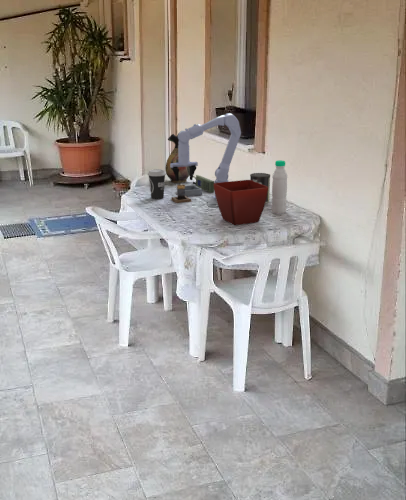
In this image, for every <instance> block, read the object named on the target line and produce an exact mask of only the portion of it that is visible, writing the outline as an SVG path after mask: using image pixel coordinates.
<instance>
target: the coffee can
mask: <svg viewBox="0 0 406 500" xmlns="http://www.w3.org/2000/svg"><path fill="white" fill-rule="evenodd" d="M249 176H250V179H249V180H252V181H255V182H257V183H260V184H262V185H265V186H267V187H269V188H268V193H267V198H266V202H265V204H268V203H270V193H271V192H270V190H271V189H270V186H271V174H270V173H265V172H253V173H250V174H249Z"/></svg>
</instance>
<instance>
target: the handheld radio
mask: <svg viewBox="0 0 406 500" xmlns="http://www.w3.org/2000/svg"><path fill="white" fill-rule="evenodd" d="M214 183H215V180H211V179H209V178H206V177H204V176H201V175H199V174H195V181H192V185H195V186H197V187H199V188H201V189H202V191H205V192H207V193H210V194H212V193H213V194H215V190H214Z"/></svg>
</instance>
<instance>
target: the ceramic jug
mask: <svg viewBox="0 0 406 500" xmlns="http://www.w3.org/2000/svg"><path fill="white" fill-rule="evenodd" d="M178 134H179V132H178V133H177V135H175V134H174V133H172V134H170V135H169V136H168V138H167V140H168V141H169V142H172V143H174V147H173V149H172V150H171V152H170V154H169V156H168V158H167V160H166V163H165V168H164V169H165V170H164V171H165V173H166V176H167V177H168V178H169V180H170V183H172V184H183V183H186V182H188V178H190V170H189V166H186V167H178V169H179V181H176V178H175V174H174V172H173V170H172V168H171V167H170V164H171V163H178V162H179V158H178V145H179V144H178V142H179V139H178ZM181 166H184V165H181ZM192 182H195V181H194V180H193V179H192Z"/></svg>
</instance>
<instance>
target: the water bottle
mask: <svg viewBox="0 0 406 500" xmlns="http://www.w3.org/2000/svg"><path fill="white" fill-rule="evenodd" d="M274 165H275V169H274V171H273V174H272V183H271V184H272V185H271V188H272V189H271V197H272V198H271V213H273V214H277V215H282V214H285V213H286V212H287V192H288V174H287V171H286V169H285V167H286V161H285V160H275V164H274Z"/></svg>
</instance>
